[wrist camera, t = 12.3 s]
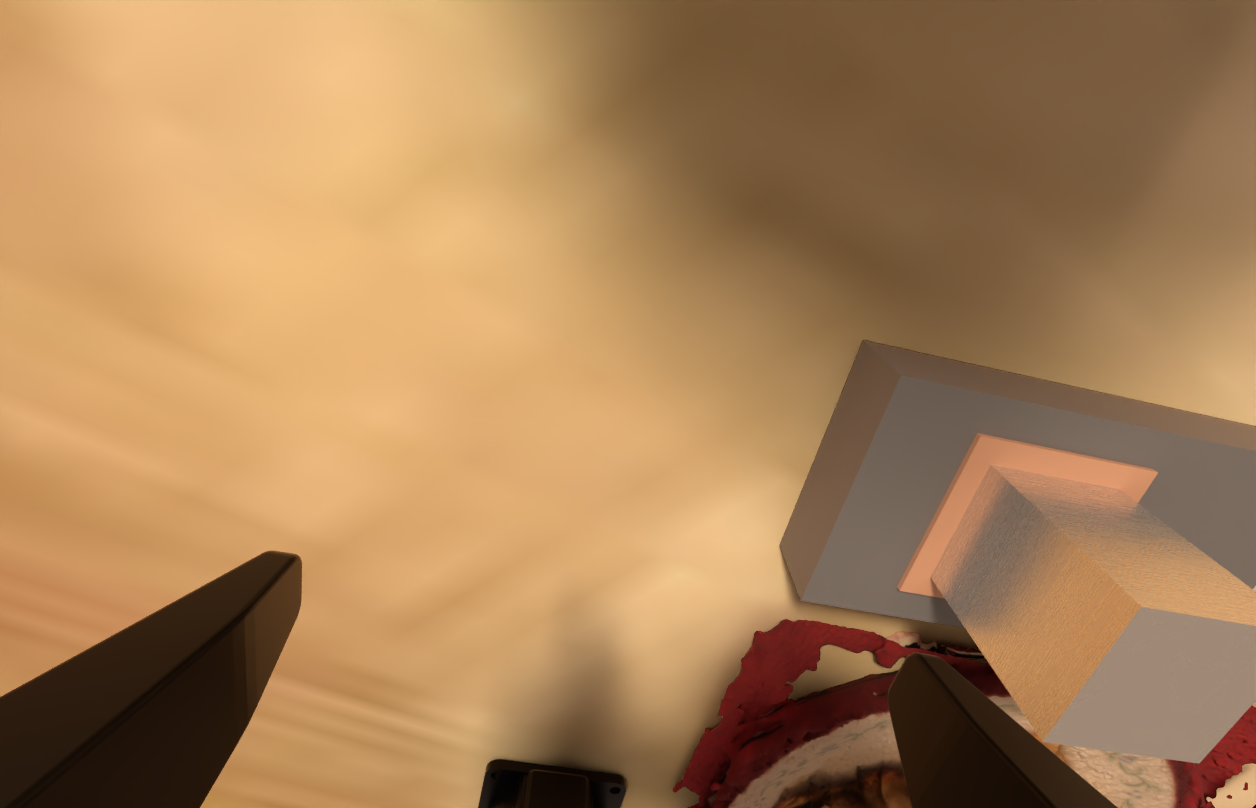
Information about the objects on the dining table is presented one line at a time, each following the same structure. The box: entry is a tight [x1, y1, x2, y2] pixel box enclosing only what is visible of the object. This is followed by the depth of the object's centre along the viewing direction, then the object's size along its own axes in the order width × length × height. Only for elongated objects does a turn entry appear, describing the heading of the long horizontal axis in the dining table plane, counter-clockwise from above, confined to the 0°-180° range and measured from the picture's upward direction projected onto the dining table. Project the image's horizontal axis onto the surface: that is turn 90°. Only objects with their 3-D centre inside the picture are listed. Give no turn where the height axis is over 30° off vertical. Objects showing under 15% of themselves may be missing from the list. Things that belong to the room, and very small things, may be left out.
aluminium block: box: [931, 465, 1256, 763], centre depth 18 cm, size 4×4×6 cm
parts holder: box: [779, 340, 1256, 628], centre depth 22 cm, size 8×24×3 cm, turn 77°
